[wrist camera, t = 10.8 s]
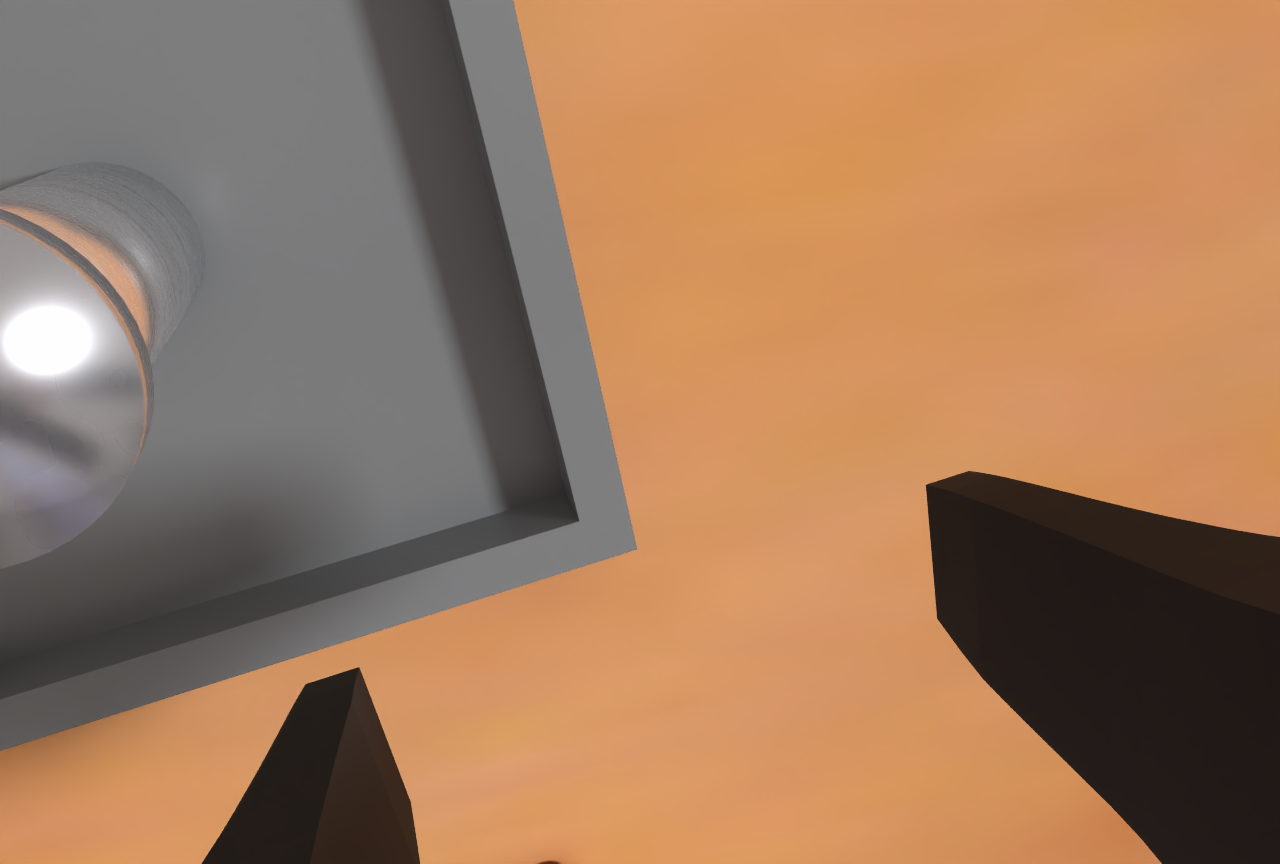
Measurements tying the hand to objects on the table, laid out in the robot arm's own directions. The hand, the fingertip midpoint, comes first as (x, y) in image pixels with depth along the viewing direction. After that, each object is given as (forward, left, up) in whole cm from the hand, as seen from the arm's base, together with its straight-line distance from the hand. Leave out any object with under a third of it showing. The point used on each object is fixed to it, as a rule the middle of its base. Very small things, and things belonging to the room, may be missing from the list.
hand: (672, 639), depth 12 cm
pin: (+5, +7, -9) cm, 12 cm away
